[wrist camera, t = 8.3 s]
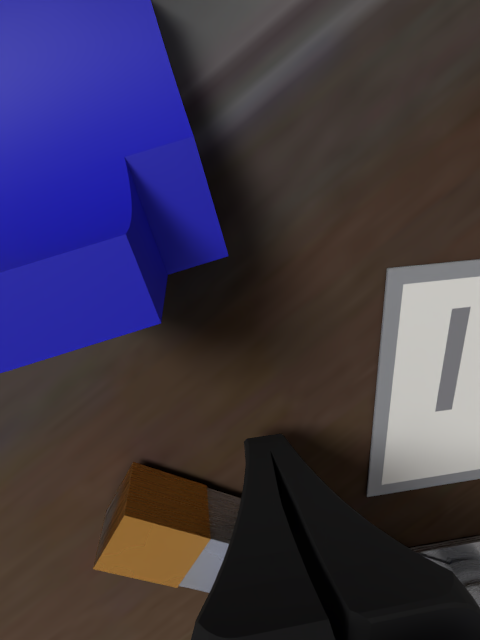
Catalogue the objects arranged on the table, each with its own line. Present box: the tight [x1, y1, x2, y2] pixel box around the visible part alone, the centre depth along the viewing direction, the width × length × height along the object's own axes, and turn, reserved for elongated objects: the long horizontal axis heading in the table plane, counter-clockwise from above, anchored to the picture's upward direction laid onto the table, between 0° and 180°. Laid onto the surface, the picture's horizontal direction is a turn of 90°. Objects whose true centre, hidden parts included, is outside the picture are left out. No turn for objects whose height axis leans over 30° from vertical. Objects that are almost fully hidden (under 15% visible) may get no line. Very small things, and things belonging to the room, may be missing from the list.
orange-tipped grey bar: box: [93, 462, 480, 607], centre depth 16 cm, size 20×4×2 cm, turn 60°
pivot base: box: [409, 535, 480, 564], centre depth 20 cm, size 6×6×1 cm
